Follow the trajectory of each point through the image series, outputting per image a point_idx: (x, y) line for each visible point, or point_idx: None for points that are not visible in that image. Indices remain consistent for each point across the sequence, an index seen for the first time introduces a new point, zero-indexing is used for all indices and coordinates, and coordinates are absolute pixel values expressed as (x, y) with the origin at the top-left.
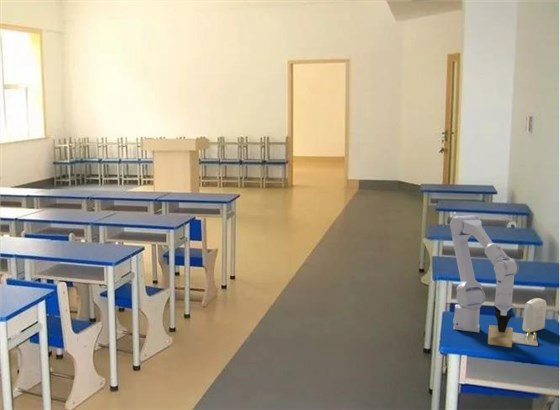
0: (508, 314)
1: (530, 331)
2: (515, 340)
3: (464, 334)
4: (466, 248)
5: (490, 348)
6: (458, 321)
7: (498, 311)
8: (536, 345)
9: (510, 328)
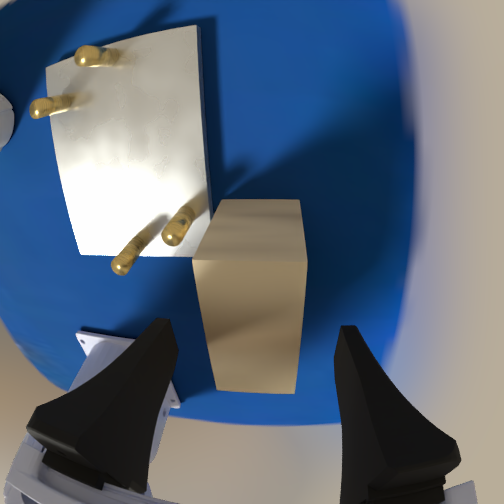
0: (393, 483)
1: (9, 106)
2: (193, 177)
3: (211, 384)
4: None
5: (354, 309)
6: (160, 421)
7: (143, 444)
8: (200, 33)
9: (220, 277)
